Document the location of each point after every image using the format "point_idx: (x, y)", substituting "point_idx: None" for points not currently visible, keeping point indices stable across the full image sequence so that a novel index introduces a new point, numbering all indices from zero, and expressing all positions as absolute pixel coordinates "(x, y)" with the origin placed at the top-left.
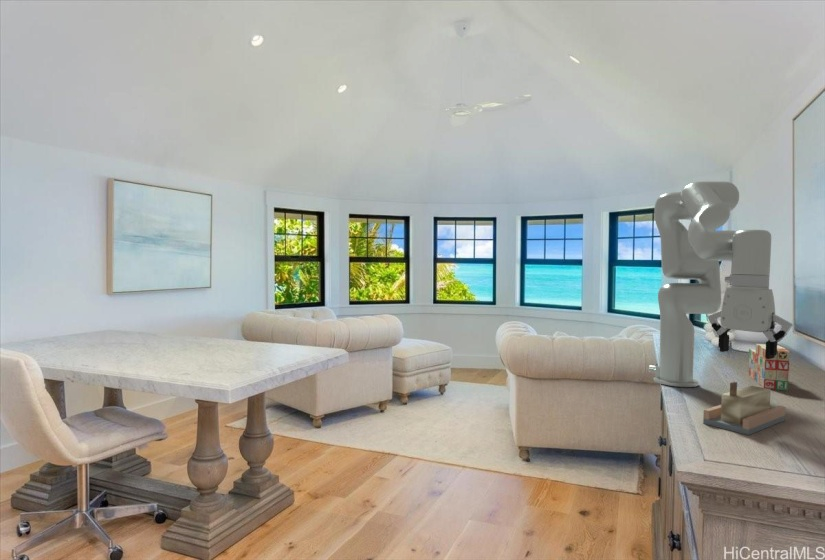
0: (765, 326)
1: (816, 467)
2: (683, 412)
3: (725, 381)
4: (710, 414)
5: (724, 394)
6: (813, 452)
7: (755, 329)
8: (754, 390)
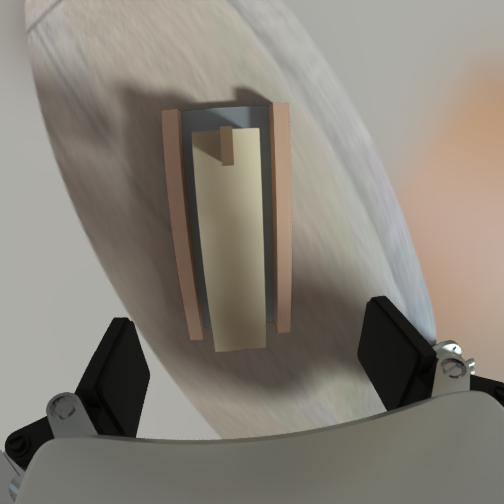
0: (29, 474)
1: (33, 63)
2: (357, 166)
3: None
4: (271, 112)
5: (252, 133)
6: (54, 136)
7: (120, 454)
8: (229, 295)
